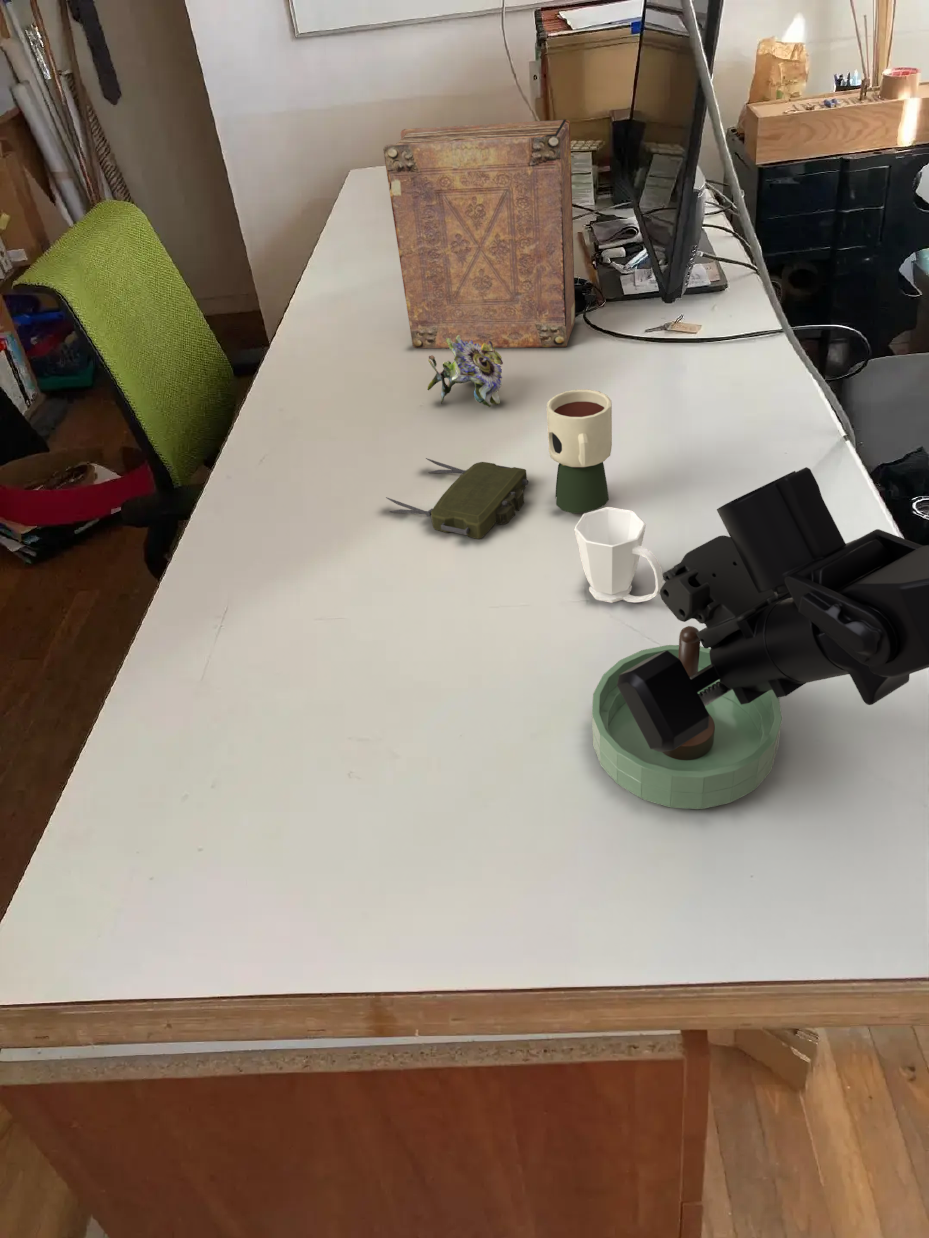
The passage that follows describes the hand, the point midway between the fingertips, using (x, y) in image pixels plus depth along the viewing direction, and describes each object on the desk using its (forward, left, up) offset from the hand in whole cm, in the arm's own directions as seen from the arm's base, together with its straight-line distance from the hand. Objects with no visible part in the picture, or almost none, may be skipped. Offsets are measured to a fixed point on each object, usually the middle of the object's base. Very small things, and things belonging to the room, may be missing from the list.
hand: (676, 673), depth 76 cm
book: (+51, -74, -7) cm, 90 cm away
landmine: (+34, -28, -8) cm, 45 cm away
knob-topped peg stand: (-1, +1, -7) cm, 7 cm away
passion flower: (+45, -52, -8) cm, 69 cm away
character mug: (+20, -32, -8) cm, 39 cm away
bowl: (-1, +1, -7) cm, 7 cm away
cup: (+10, -17, -8) cm, 21 cm away
